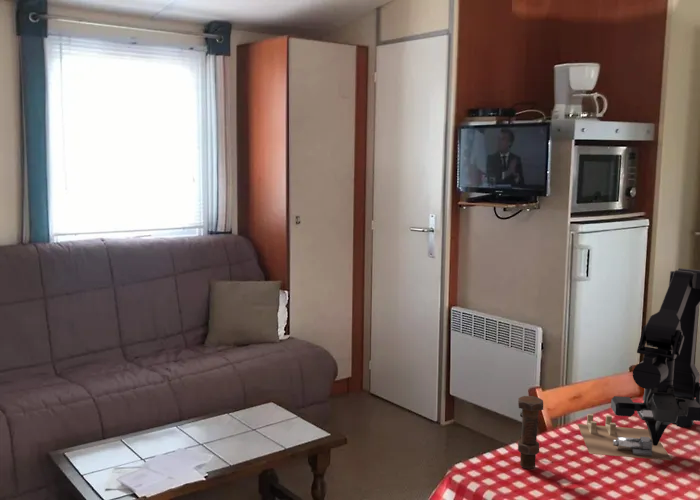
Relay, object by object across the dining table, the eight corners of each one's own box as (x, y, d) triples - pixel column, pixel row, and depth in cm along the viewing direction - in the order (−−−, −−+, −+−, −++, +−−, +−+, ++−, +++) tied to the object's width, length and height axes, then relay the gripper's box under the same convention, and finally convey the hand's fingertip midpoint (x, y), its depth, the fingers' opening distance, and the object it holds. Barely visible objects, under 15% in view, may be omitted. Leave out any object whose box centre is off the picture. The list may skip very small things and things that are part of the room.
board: (577, 427, 174) (577, 423, 174) (651, 432, 171) (651, 429, 171) (589, 456, 157) (589, 453, 157) (672, 463, 154) (672, 460, 154)
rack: (586, 424, 174) (587, 413, 174) (610, 426, 173) (611, 415, 173) (590, 433, 168) (591, 422, 168) (615, 435, 167) (616, 424, 167)
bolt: (540, 473, 148) (544, 405, 146) (515, 471, 149) (519, 403, 147) (538, 462, 154) (542, 396, 152) (515, 459, 155) (518, 394, 153)
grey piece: (648, 449, 160) (649, 437, 159) (651, 454, 157) (652, 442, 156) (611, 446, 161) (612, 434, 160) (614, 451, 158) (615, 439, 158)
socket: (627, 444, 162) (627, 440, 162) (645, 446, 161) (646, 442, 161) (632, 454, 156) (633, 450, 156) (651, 456, 156) (652, 452, 155)
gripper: (623, 386, 149) (618, 456, 151) (716, 392, 146) (711, 463, 148) (612, 371, 160) (608, 436, 162) (699, 376, 157) (694, 442, 159)
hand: (654, 445), depth 158 cm, fingers closed
